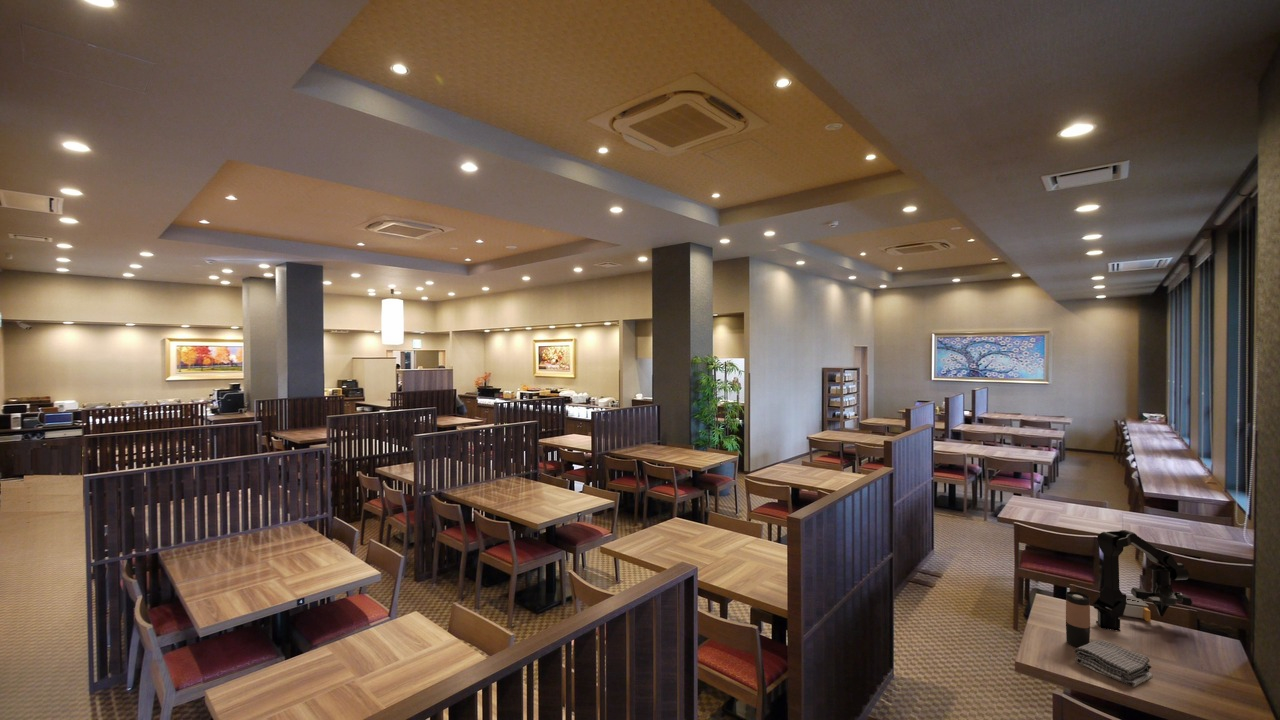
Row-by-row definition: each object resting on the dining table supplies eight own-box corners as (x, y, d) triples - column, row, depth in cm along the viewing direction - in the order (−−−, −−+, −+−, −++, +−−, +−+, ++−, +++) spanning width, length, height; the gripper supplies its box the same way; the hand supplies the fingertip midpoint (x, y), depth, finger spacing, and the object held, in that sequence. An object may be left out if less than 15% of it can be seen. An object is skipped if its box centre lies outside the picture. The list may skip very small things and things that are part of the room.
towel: (1095, 654, 212) (1095, 634, 212) (1155, 680, 196) (1155, 658, 196) (1073, 663, 206) (1073, 643, 206) (1133, 690, 189) (1133, 668, 189)
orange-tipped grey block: (1105, 613, 246) (1105, 598, 246) (1097, 604, 255) (1097, 590, 255) (1148, 619, 240) (1148, 604, 240) (1138, 610, 249) (1138, 595, 249)
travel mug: (1081, 640, 222) (1081, 591, 222) (1095, 650, 215) (1095, 599, 215) (1061, 639, 223) (1061, 590, 223) (1074, 649, 216) (1074, 599, 215)
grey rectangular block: (1127, 618, 240) (1127, 607, 240) (1123, 614, 243) (1123, 603, 243) (1150, 621, 237) (1150, 610, 237) (1146, 617, 240) (1146, 607, 240)
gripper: (1141, 583, 232) (1141, 620, 232) (1200, 591, 225) (1199, 628, 225) (1130, 574, 242) (1130, 609, 242) (1185, 580, 235) (1185, 617, 235)
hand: (1160, 616), depth 236 cm, fingers closed
